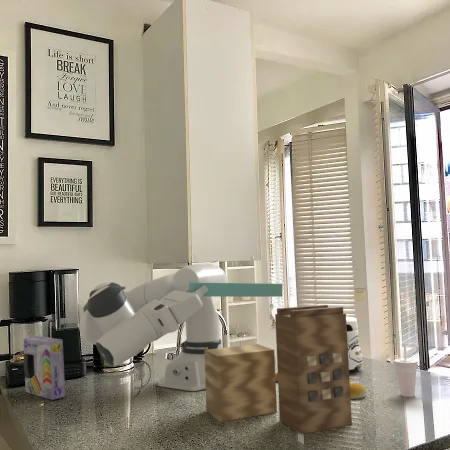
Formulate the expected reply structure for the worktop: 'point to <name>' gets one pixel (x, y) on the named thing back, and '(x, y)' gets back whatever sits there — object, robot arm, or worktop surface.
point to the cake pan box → (44, 367)
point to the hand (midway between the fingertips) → (202, 287)
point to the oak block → (240, 382)
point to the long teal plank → (238, 289)
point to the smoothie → (406, 375)
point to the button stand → (313, 368)
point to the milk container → (353, 344)
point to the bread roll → (357, 391)
